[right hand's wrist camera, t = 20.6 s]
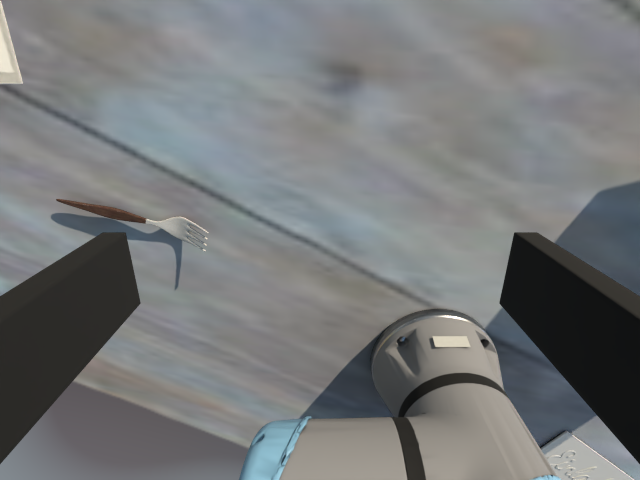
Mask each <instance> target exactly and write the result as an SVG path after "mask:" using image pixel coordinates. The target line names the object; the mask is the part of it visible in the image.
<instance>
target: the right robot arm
mask: <svg viewBox="0 0 640 480" xmlns="http://www.w3.org/2000/svg"><path fill="white" fill-rule="evenodd" d="M139 304H140V298H139V294H138V289H137V284H136V279H135V275H134V270H133V265H132V260H131V256H130V251H129V246H128V241H127V237H126V233H101V234H100V235H98V236H97V237H95V238H93V239H92V240H90V241H89V242H87V243H85V244H84V245H82V246H81V247H79V248H77V249H76V250H74V251H72V252H71V253H69V254H68V255H66V256H64V257H63V258H61V259H60V260H58V261H56V262H55V263H53V264H52V265H50V266H48V267H47V268H45V269H44V270H42V271H40V272H39V273H37V274H35V275H34V276H32V277H31V278H29V279H27V280H26V281H24V282H23V283H21V284H19V285H18V286H16V287H15V288H13V289H11V290H10V291H8V292H7V293H5V294H3V295H2V296H0V464H1V463H2V461H3V460H4V459H5V458H6V457H7V456H8V455H9V453H10V452H11V451H12V450H13V449H14V448H15V447H16V445H17V444H18V443H19V442H20V441H21V440H22V438H23V437H24V436H25V435H26V434H27V433H28V432H29V430H30V429H31V428H32V427H33V426H34V425H35V424H36V422H37V421H38V420H39V419H40V418H41V417H42V416H43V414H44V413H45V412H46V411H47V410H48V409H49V408H50V406H51V405H52V404H53V403H54V402H55V401H56V400H57V398H58V397H59V396H60V395H61V394H62V393H63V391H64V390H65V389H66V388H67V387H68V386H69V385H70V383H71V382H72V381H73V380H74V379H75V378H76V377H77V375H78V374H79V373H80V372H81V371H82V370H83V369H84V367H85V366H86V365H87V364H88V363H89V362H90V361H91V359H92V358H93V357H94V356H95V355H96V354H97V353H98V351H99V350H100V349H101V348H102V347H103V346H104V345H105V343H106V342H107V341H108V340H109V339H110V338H111V337H112V335H113V334H114V333H115V332H116V331H117V330H118V329H119V327H120V326H121V325H122V324H123V323H124V322H125V320H126V319H127V318H128V317H129V316H130V315H131V314H132V312H133V311H134V310H135V309H136V308H137V307H138V306H139ZM500 304H501V306H502V307H503V308H504V309H505V310H506V311H507V312H508V314H509V315H510V316H511V317H512V318H513V319H514V320H515V322H516V323H517V324H518V325H519V326H520V327H521V329H522V330H523V331H524V332H525V333H526V334H527V335H528V337H529V338H530V339H531V340H532V341H533V342H534V343H535V345H536V346H537V347H538V348H539V349H540V350H541V351H542V353H543V354H544V355H545V356H546V357H547V358H548V359H549V361H550V362H551V363H552V364H553V365H554V366H555V367H556V369H557V370H558V371H559V372H560V373H561V374H562V375H563V377H564V378H565V379H566V380H567V381H568V382H569V384H570V385H571V386H572V387H573V388H574V389H575V390H576V392H577V393H578V394H579V395H580V396H581V397H582V398H583V400H584V401H585V402H586V403H587V404H588V405H589V406H590V408H591V409H592V410H593V411H594V412H595V413H596V414H597V416H598V417H599V418H600V419H601V420H602V421H603V422H604V424H605V425H606V426H607V427H608V428H609V429H610V430H611V432H612V433H613V434H614V435H615V436H616V437H617V438H618V440H619V441H620V442H621V443H622V444H623V445H624V447H625V448H626V449H627V450H628V451H629V452H630V453H631V455H632V456H633V457H634V458H635V459H636V460H637V461H638V463H639V464H640V296H638V295H637V294H635V293H633V292H632V291H630V290H629V289H627V288H625V287H624V286H622V285H621V284H619V283H617V282H616V281H614V280H613V279H611V278H609V277H608V276H606V275H605V274H603V273H601V272H600V271H598V270H596V269H595V268H593V267H592V266H590V265H588V264H587V263H585V262H584V261H582V260H580V259H579V258H577V257H576V256H574V255H572V254H571V253H569V252H568V251H566V250H564V249H563V248H561V247H559V246H558V245H556V244H555V243H553V242H551V241H550V240H548V239H547V238H545V237H543V236H542V235H540V234H539V233H514V237H513V241H512V246H511V251H510V256H509V260H508V265H507V270H506V275H505V279H504V284H503V289H502V294H501V298H500ZM370 366H371V372H372V378H373V382H374V385H375V388H376V390H377V391H378V393H379V395H380V396H381V398H382V399H383V401H384V402H385V404H386V406H387V407H388V409H389V410H390V412H391V413H392V415H393V416H394V417H373V418H339V419H312V417H311V416H306V417H304V418H303V419H293V420H281V421H273V422H270V423H268V424H266V425H265V426H263V427H262V428H261V429H260V430H259V432H258V433H257V434H256V436H255V437H254V439H253V441H252V443H251V445H250V448H249V450H248V453H247V456H246V458H245V461H244V464H243V468H242V471H241V475H240V478H239V480H561V479H560V478H559V477H558V476H557V475H556V473H555V471H554V470H553V468H552V467H551V465H550V463H549V462H548V460H547V459H546V457H545V455H544V454H543V452H542V451H541V449H540V447H539V446H538V444H537V443H536V441H535V439H534V438H533V436H532V435H531V433H530V431H529V430H528V428H527V427H526V425H525V423H524V422H523V420H522V419H521V417H520V415H519V414H518V412H517V411H516V409H515V407H514V406H513V404H512V403H511V401H510V400H509V398H508V396H507V395H506V393H505V391H504V388H503V382H502V377H501V371H500V366H499V360H498V355H497V351H496V348H495V345H494V343H493V341H492V340H491V338H490V337H489V335H488V334H487V332H486V331H485V330H484V328H483V327H482V326H481V325H480V324H479V323H478V322H477V321H475V320H474V319H473V318H471V317H469V316H467V315H465V314H463V313H460V312H457V311H453V310H446V309H431V310H424V311H419V312H415V313H412V314H410V315H407V316H405V317H403V318H401V319H399V320H397V321H396V322H394V323H393V324H392V325H390V326H389V327H388V328H387V329H386V330H385V331H384V332H383V333H382V334H381V335H380V337H379V338H378V340H377V341H376V343H375V345H374V347H373V350H372V353H371V359H370Z"/></svg>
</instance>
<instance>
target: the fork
mask: <svg viewBox="0 0 640 480" xmlns="http://www.w3.org/2000/svg"><path fill="white" fill-rule="evenodd" d="M56 200H57V201H58V202H61V203H64V204H67V205H70V206H73V207H77V208H80V209H83V210H86V211H89V212H92V213H95V214H98V215H101V216H104V217H108V218H112V219H117V220H123V221H131V222H138V223H145V224H152V225H155V226H158V227H160V228H162V229H163V230H165V231H166V232H168V233H169V234H171V235H172V236H174V237H176V238H178V239H180V240H183V241H186V242H188V243H190V244H192V245H194V246H196V247H198V248H200V249H201V250H203V251H204V252H205V251H206V250H204V249H203V248H201V247H200V246H198V245H197V244H195V243H194V242H192V241H191V240H189V239H188V237H191V238H193V239H195V240H197V241H199V242H200V243H202V244H204V245H206V244H205V243H204V242H202V241H201V240H199V239H198V238H196V237H195V236H193V235H191V234H190V233H189V232H188V231H191V232H194V233H196V234H198V235H199V236H201V237H203V238H205V239H207V238H206V237H205V236H203V235H202V234H200V233H199V232H197V231H196V230H194V229H192V228H191V227H190V226H189V225H192V226H195V227H197V228H199V229H201V230H203V231H204V232H206V233H209V232H207V231H206V230H204V229H203V228H201V227H200V226H198V225H197V224H195V223H193V222H191V221H190V220H188V219H186V218H183V217H173V218H169V219H166V220H163V221H152V220H149V219H146V218H143V217H140V216H137V215H135V214H132V213H129V212H126V211H123V210H120V209H116V208H112V207H107V206H100V205H93V204H86V203H80V202H75V201H69V200H62V199H56Z"/></svg>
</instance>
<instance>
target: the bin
mask: <svg viewBox="0 0 640 480" xmlns="http://www.w3.org/2000/svg"><path fill="white" fill-rule="evenodd" d="M0 84H23V82H22V78H21V74H20V70H19V67H18V63H17V59H16V56H15V52H14V48H13V44H12V41H11V37H10V33H9V29H8V26H7V22H6V18H5V14H4V11H3V7H2V3H1V0H0Z"/></svg>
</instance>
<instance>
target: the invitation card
mask: <svg viewBox="0 0 640 480" xmlns="http://www.w3.org/2000/svg"><path fill="white" fill-rule="evenodd" d="M540 449H541V451H542V452H543V454H544V455H545V457H546V459H547V460H548V462H549V463H550V465H551V467H552V468H553V470H554V471H555V473H556V475H557V476H558V477H559V478H560V479H561V480H634V479H632V478H631V477H630V476H628V475H627V474H625V473H624V472H623V471H621V470H620V469H619V468H617V467H616V466H614V465H613V464H612V463H610V462H609V461H608V460H606V459H605V458H603V457H602V456H601V455H599V454H598V453H597V452H595V451H594V450H592V449H591V448H590V447H588V446H587V445H586V444H584V443H583V442H581V441H580V440H579V439H577V438H576V437H575V436H573V435H572V434H570V433H569V432H568V431H565V432H564V433H562V434H561V435H559V436H558V437H556V438H555V439H553V440H552V441H550V442H549V443H548V444H546V445H545V446H543V447H542V448H540Z"/></svg>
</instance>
